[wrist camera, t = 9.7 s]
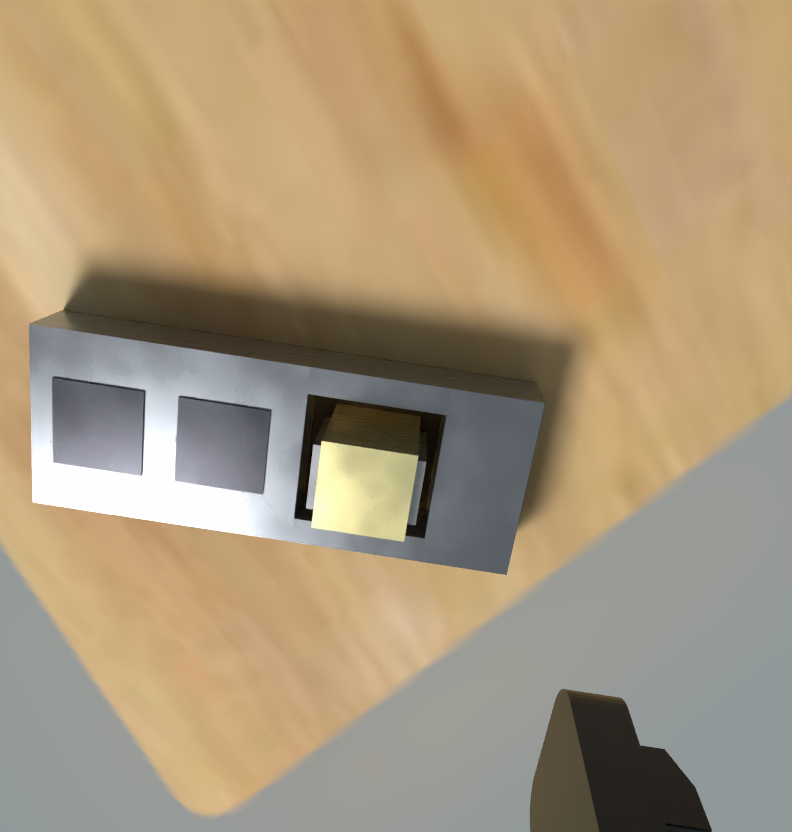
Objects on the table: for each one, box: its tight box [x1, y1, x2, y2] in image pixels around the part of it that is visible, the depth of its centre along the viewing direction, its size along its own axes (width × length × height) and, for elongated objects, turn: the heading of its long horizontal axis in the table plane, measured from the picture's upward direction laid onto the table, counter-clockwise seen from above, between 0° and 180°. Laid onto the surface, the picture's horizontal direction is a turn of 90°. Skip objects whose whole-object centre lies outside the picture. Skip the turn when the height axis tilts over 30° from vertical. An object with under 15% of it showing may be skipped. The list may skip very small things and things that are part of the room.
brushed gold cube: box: [306, 404, 427, 542], centre depth 33 cm, size 4×5×5 cm
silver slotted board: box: [29, 310, 545, 575], centre depth 34 cm, size 8×22×3 cm, turn 82°
